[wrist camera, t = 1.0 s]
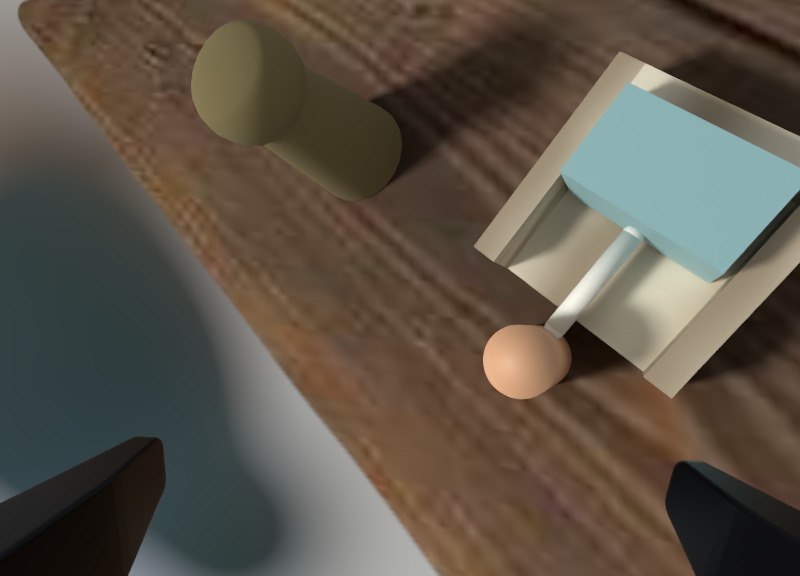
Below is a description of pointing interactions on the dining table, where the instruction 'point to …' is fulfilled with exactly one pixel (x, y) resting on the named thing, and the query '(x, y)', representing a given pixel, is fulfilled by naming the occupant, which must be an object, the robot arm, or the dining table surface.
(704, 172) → the lever with tan knob
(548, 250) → the lane
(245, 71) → the cork
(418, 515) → the dining table surface
